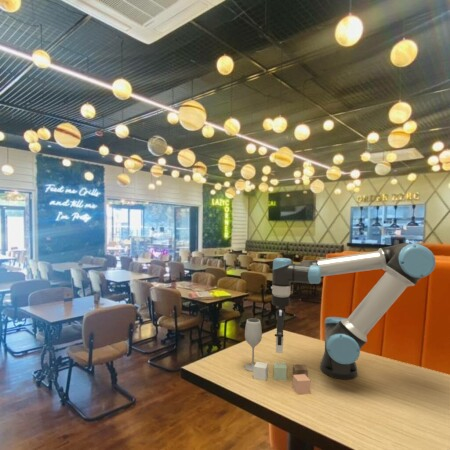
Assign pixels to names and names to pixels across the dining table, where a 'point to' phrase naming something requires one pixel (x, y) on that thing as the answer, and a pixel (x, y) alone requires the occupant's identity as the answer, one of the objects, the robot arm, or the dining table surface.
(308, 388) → the terracotta cube
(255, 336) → the wineglass
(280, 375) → the sage cube
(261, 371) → the white cube
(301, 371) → the walnut cube
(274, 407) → the dining table surface
